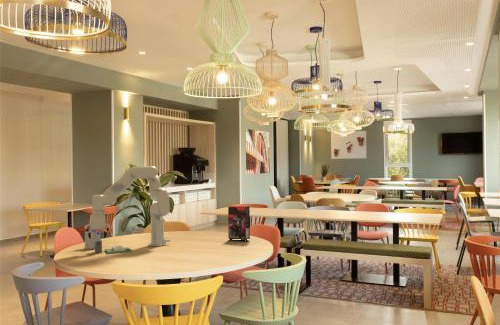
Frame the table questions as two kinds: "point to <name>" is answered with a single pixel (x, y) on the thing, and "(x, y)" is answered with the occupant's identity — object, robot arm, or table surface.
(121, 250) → the circuit board
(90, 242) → the ink cartridge box
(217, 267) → the table surface
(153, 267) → the table surface
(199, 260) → the table surface
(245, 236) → the graphics card box
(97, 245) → the plug
